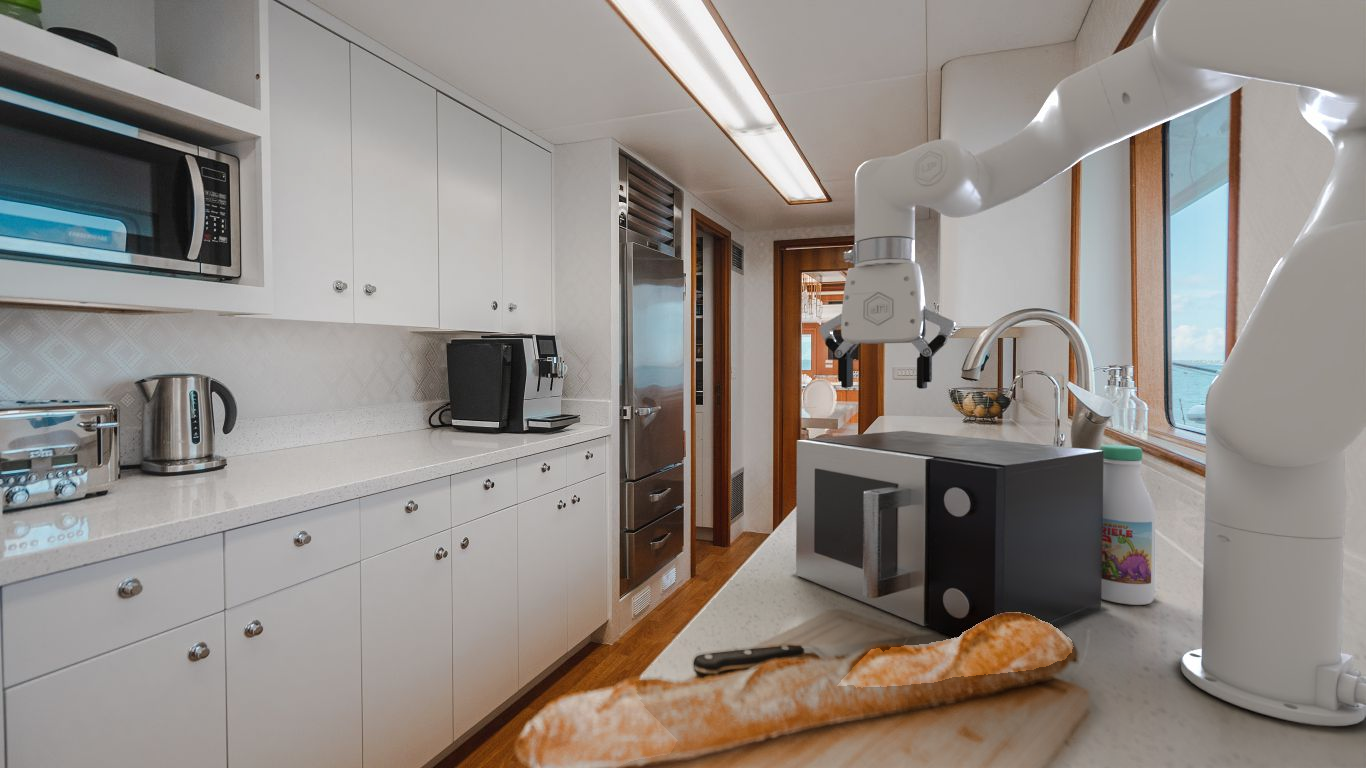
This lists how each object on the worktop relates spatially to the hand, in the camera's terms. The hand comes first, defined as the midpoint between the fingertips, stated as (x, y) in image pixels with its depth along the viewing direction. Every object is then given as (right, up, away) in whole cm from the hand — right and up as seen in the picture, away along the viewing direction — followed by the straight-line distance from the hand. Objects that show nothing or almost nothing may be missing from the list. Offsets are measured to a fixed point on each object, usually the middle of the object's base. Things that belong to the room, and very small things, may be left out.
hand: (883, 387), depth 82 cm
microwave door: (-6, -28, -1) cm, 28 cm away
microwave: (+8, -28, +3) cm, 29 cm away
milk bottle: (+32, -28, +1) cm, 42 cm away
